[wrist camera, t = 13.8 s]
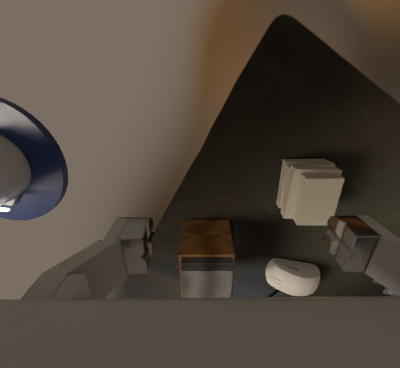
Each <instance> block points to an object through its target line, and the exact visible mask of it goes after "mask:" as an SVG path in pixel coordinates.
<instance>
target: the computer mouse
mask: <svg viewBox="0 0 400 368" xmlns="http://www.w3.org/2000/svg"><path fill="white" fill-rule="evenodd" d="M266 279H267V282H268V283H269V284H270V285H271V286H273V287H274V288H276V289H278V290H280V291H282V292H284V293H287V294H289V295H293V296H307V295H310V294H312V293H314V291H315V290H316V289H317V287H318V285H319V281H320V271H319V269H318V267H317V266H316V265H313V264H311V263H305V262H299V261H293V260H287V259H280V258H273V259H272V260H270V261H269V263H268V265H267V267H266Z"/></svg>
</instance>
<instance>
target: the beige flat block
mask: <svg viewBox="0 0 400 368" xmlns="http://www.w3.org/2000/svg"><path fill="white" fill-rule="evenodd" d="M344 180H345V178H343V177H342V176H340V175H338V174H337V173H300V178H299V184H298V189H297V194H296V199H295V204H294V210H293V215H292V218H293V220H294V221H295V223H296V224H297V225H327V222H328V219H329V218H330V216H334V214H335V211H336V207H337V204H338V200H339V197H340V193H341V190H342V186H343V183H344Z"/></svg>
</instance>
